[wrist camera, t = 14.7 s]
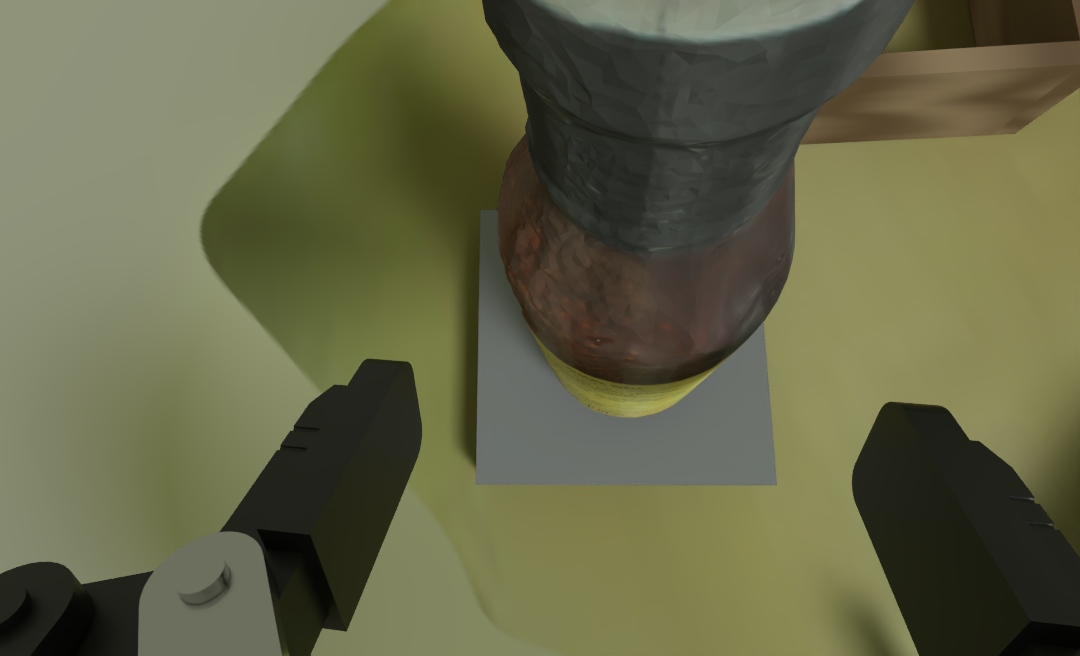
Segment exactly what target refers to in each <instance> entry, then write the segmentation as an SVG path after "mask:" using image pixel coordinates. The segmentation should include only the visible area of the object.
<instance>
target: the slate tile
mask: <svg viewBox="0 0 1080 656" xmlns="http://www.w3.org/2000/svg"><path fill="white" fill-rule="evenodd" d="M497 228H498V212H497V210H480V263H479V324H478V386H477V448H476V484H525V485H777V481H776V469H775V457H774V444H773V432H772V420H771V408H770V396H769V384H768V372H767V360H766V347H765V335H764V323H762V324H761V325H760V326H759V328H758V329H757V330H756V331H755V332H754V333H753V334H752V335H751V337H750V338H749V339H748V340H747V341H746V342H745V343H744V344H743V345H742V346H741V347H740V348H738V349H737V350H736V351H735V352H734V353H733V354H732V355H731V356H730V357H729V358H727V359H726V360H725V361H724V362H723V363H722V364H721V365H720V366H719V367H717V368H716V369H715V370H714V371H713V372H712V373H711V374H710V375H709V376H707V377H706V378H705V379H704V380H703V381H702V382H700V383H699V384H698V385H697V386H696V387H695V388H694V389H693V390H692V391H691V392H689V393H688V394H687V395H686V396H685V397H683V398H682V399H681V400H680V401H678V402H677V403H675V404H674V405H672V406H671V407H669V408H667V409H665V410H663V411H661V412H658V413H655V414H651V415H646V416H642V417H636V418H631V417H616V416H609V415H606V414H603V413H599V412H597V411H594V410H592V409H589V408H587V407H585V406H584V405H583V404H581V403H580V402H579V401H577V400H576V399H575V398H574V397H573V396H572V395H571V394H570V393H569V392H568V391H567V390H566V389H565V388H564V387H563V385H562V384H561V382H560V381H559V380H558V378H557V377H556V375H555V373H554V372H553V370H552V368H551V367H550V365H549V363H548V361H547V359H546V358H545V356H544V354H543V352H542V350H541V348H540V347H539V345H538V343H537V341H536V339H535V338H534V336H533V334H532V332H531V330H530V328H529V327H528V325H527V323H526V321H525V319H524V318H523V316H522V309H521V307H520V305H519V303H518V301H517V298H516V297H515V295H514V294H513V290H512V287H511V284H510V283H509V281H508V280H507V276H506V273H505V266H504V263H503V261H502V258H501V256H500V250H499V246H498V233H497Z"/></svg>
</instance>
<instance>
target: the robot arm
mask: <svg viewBox="0 0 1080 656" xmlns="http://www.w3.org/2000/svg"><path fill="white" fill-rule="evenodd" d="M421 439H422V423H421V417H420V411H419V404H418V398H417V392H416V386H415V380H414V374H413V369H412V366H411V364H410V363H409V362H404V361H392V360H379V359H366V360H364V361H363V362H362V364H361V365H360V367H359V368H358V370H357V371H356V373H355V374H354V376H353V378H352V379H351V381H350V382H349V384H348V385H347V386H345V385H333V386H332V387H331V388H329V389H328V390H327V391H325V392H324V393H323V394H321V395H320V396H319V397H317V398H316V399H315V400H313V401H312V402H311V403H310V404H309V405H308V407H307V408H306V409H305V411H304V412H303V414H302V415H301V416H300V418H299V419H298V421H297V422H296V424H295V425H294V430H293V431H290V432H289V434H288V435H287V437H286V438H285V439H284V441H283V442H282V444H281V448H280V450H277V451H276V453H275V454H274V455H273V457H272V458H271V460H270V461H269V462H268V464H267V465H266V467H265V468H264V470H263V471H262V473H261V474H260V475H259V477H258V478H257V480H256V482H255V483H254V484H253V485H252V487H251V488H250V490H249V492H248V493H247V494H246V496H245V497H244V498H243V500H242V501H241V503H240V504H239V506H238V507H237V509H236V510H235V511H234V513H233V514H232V516H231V517H230V519H229V520H228V521H227V523H226V524H225V526H224V527H223V528H222V529H221V531H220V532H218V533H214V534H209V535H206V536H203V537H200V538H198V539H196V540H194V541H191V542H189V543H188V544H186V545H184V546H182V547H181V548H179V549H178V550H176V551H175V552H174V553H172V554H171V555H170V556H169V557H168V558H166V559H165V560H164V561H163V562H162V563H161V564H160V565H159V566H158V567H157V568H156V570H155V571H151V572H146V573H141V574H136V575H130V576H125V577H119V578H114V579H109V580H103V581H98V582H93V583H87V584H81V583H80V582H79V581H78V580H77V578H76V577H75V576H74V575H73V573H72V572H71V571H70V570H69V569H68V568H66V567H65V566H64V565H61V564H59V563H54V562H37V563H31V564H26V565H23V566H20V567H16V568H14V569H11V570H8V571H6V572H4V573H1V574H0V656H311V652H312V650H313V648H314V645H315V643H316V641H317V638H318V637H319V634H320V632H321V630H322V628H325V629H333V630H340V631H347V629H348V626H349V624H350V622H351V619H352V617H353V614H354V612H355V609H356V607H357V605H358V602H359V600H360V597H361V595H362V592H363V590H364V587H365V585H366V582H367V580H368V578H369V575H370V573H371V570H372V568H373V566H374V563H375V561H376V558H377V556H378V553H379V551H380V548H381V546H382V543H383V541H384V539H385V536H386V534H387V531H388V528H389V526H390V524H391V521H392V519H393V516H394V514H395V511H396V509H397V507H398V504H399V502H400V499H401V497H402V494H403V492H404V490H405V487H406V485H407V482H408V480H409V477H410V475H411V472H412V470H413V468H414V465H415V463H416V460H417V457H418V454H419V451H420V446H421ZM852 490H853V496H854V500H855V503H856V505H857V508H858V510H859V513H860V515H861V517H862V520H863V522H864V525H865V527H866V529H867V532H868V534H869V537H870V539H871V541H872V544H873V546H874V549H875V551H876V553H877V556H878V558H879V561H880V563H881V565H882V568H883V570H884V573H885V575H886V577H887V580H888V582H889V584H890V587H891V589H892V592H893V594H894V596H895V599H896V601H897V604H898V606H899V608H900V611H901V613H902V616H903V618H904V620H905V623H906V625H907V628H908V630H909V632H910V635H911V637H912V640H913V642H914V644H915V647H916V649H917V652H918V654H919V656H1080V557H1079V556H1078V555H1077V553H1076V552H1075V551H1074V549H1073V548H1072V547H1071V545H1070V544H1069V543H1068V541H1067V540H1066V539H1065V537H1064V536H1063V535H1062V533H1061V532H1060V531H1059V530H1055V529H1054V527H1053V524H1054V523H1053V521H1052V520H1051V519H1050V517H1049V516H1048V515H1047V513H1046V512H1045V511H1044V509H1043V508H1042V507H1041V505H1040V504H1035V502H1034V498H1035V497H1034V496H1033V495H1032V493H1031V492H1030V491H1029V489H1028V488H1027V487H1026V485H1025V484H1024V483H1023V481H1022V480H1021V479H1020V477H1019V476H1018V475H1017V473H1016V472H1015V471H1014V469H1013V468H1012V467H1011V466H1009V465H1008V464H1007V463H1006V462H1004V461H1003V460H1002V459H1001V458H999V457H998V456H997V455H996V454H994V453H993V452H992V451H991V450H989V449H988V448H987V447H986V446H984V445H983V444H982V443H981V442H979V441H971V440H969V438H968V437H967V435H966V434H965V433H964V431H963V430H962V428H961V427H960V426H959V424H958V423H957V421H956V420H955V418H954V417H953V416H952V414H951V413H950V412H949V411H948V410H947V409H946V408H944V407H942V406H938V405H926V404H913V403H901V402H888V403H886V404H885V405H884V406H883V407H882V408H881V410H880V412H879V414H878V416H877V418H876V420H875V422H874V425H873V427H872V429H871V431H870V433H869V435H868V437H867V440H866V442H865V444H864V446H863V448H862V450H861V453H860V455H859V457H858V459H857V461H856V463H855V466H854V470H853V475H852Z"/></svg>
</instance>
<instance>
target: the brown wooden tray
mask: <svg viewBox="0 0 1080 656" xmlns="http://www.w3.org/2000/svg"><path fill="white" fill-rule="evenodd" d="M968 2H969V7H970V13H971V19H972V25H973V30H974V36H975V42H976V47H973V48H957V49H942V50H926V51H910V52H894V53H881V54H880V55H879V56H878V57H877V58H876V59H875V60H874V62H873V63H872V64H871V65H870V66H869V67H868V68H867V69H866V71H865V72H864V73H863V74H862V75H861V76H860V77H859V78H858V79H857V80H856V81H855V82H854V83H853V84H852V85H851V86H849V87H848V88H846V89H845V90H844V91H842V92H841V93H839V94H838V95H837V96H835V97H834V98H832V99H831V100H829V101H827V102H826V103H824V104H823V105H822V107H821V108H820V110H819V111H818V113H817V115H816V116H815V118H814V120H813V121H812V123H811V125H810V127H809V129H808V130H807V132H806V134H805V135H804V137H803V138H802V140H801V141H800V144H819V143H839V142H859V141H879V140H898V139H918V138H938V137H958V136H978V135H998V134H1015V133H1016V132H1018V131H1019V130H1021V129H1022V128H1023V127H1025V126H1026V125H1028V124H1029V123H1030V122H1032V121H1033V120H1035V119H1036V118H1037V117H1039V116H1040V115H1042V114H1043V113H1044V112H1046V111H1047V110H1049V109H1050V108H1051V107H1053V106H1054V105H1056V104H1057V103H1058V102H1060V101H1061V100H1063V99H1064V98H1065V97H1067V96H1068V95H1070V94H1071V93H1073V92H1074V91H1075V90H1077V89H1078V88H1080V0H968Z"/></svg>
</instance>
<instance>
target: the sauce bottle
mask: <svg viewBox="0 0 1080 656" xmlns="http://www.w3.org/2000/svg"><path fill="white" fill-rule="evenodd" d="M914 1H915V0H482V3H483V9H484V14H485V20H486V22H487V24H488V26H489V27H490V29H491V30H492V32H493V34H494V35H495V37H496V39H497V41H498V44H499V46H500V48H501V49H502V50H503V52H504V53H505V54H506V56H507V57H508V58H509V60H510V61H511V62H512V64H513V65H514V66H515V68H516V69H517V70H518V72H519V75H520V82H521V86H522V90H523V95H524V99H525V102H526V107H527V113H528V119H527V123H526V126H525V129H526V134H525V135H524V136H523V138H522V139H521V140H520V142H519V143H518V144H517V145H516V147H515V148H514V149H513V151H512V152H511V154H510V156H509V158H508V160H507V162H506V169H505V172H504V176H503V183H502V187H501V192H500V198H499V205H498V209H497V212H498V228H497V233H498V246H499V250H500V256H501V258H502V261H503V263H504V266H505V273H506V276H507V280H508V281H509V283H510V284H511V287H512V290H513V294H514V295H515V297H516V298H517V301H518V303H519V305H520V307H521V309H522V316H523V318H524V319H525V321H526V323H527V325H528V327H529V328H530V330H531V332H532V334H533V336H534V338H535V339H536V341H537V343H538V345H539V347H540V348H541V350H542V352H543V354H544V356H545V358H546V359H547V361H548V363H549V365H550V367H551V368H552V370H553V372H554V373H555V375H556V377H557V378H558V380H559V381H560V382H561V384H562V385H563V387H564V388H565V389H566V390H567V391H568V392H569V393H570V394H571V395H572V396H573V397H574V398H575V399H576V400H577V401H579V402H580V403H581V404H583V405H584V406H585V407H587V408H589V409H592V410H594V411H597V412H599V413H603V414H606V415H609V416H616V417H631V418H636V417H642V416H646V415H651V414H655V413H658V412H661V411H663V410H665V409H667V408H669V407H671V406H672V405H674V404H675V403H677V402H678V401H680V400H681V399H682V398H683V397H685V396H686V395H687V394H688V393H689V392H691V391H692V390H693V389H694V388H695V387H696V386H697V385H698V384H699V383H700V382H702V381H703V380H704V379H705V378H706V377H707V376H709V375H710V374H711V373H712V372H713V371H714V370H715V369H716V368H717V367H719V366H720V365H721V364H722V363H723V362H724V361H725V360H726V359H727V358H729V357H730V356H731V355H732V354H733V353H734V352H735V351H736V350H737V349H738V348H740V347H741V346H742V345H743V344H744V343H745V342H746V341H747V340H748V339H749V338H750V337H751V335H752V334H753V333H754V332H755V331H756V330H757V329H758V328H759V326H760V325H761V324H762V323H763V322H764V320H765V319H766V317H767V316H768V314H769V313H770V311H771V310H772V308H773V307H774V305H775V303H776V302H777V300H778V298H779V296H780V294H781V291H782V289H783V287H784V285H785V283H786V280H787V278H788V274H789V270H790V267H791V263H792V260H793V253H794V246H795V179H794V157H795V155H796V152H797V149H798V147H799V144H800V141H801V140H802V138H803V137H804V135H805V134H806V132H807V130H808V129H809V127H810V125H811V123H812V121H813V120H814V118H815V116H816V115H817V113H818V111H819V110H820V108H821V107H822V105H823V104H824V103H826V102H827V101H829V100H831V99H832V98H834V97H835V96H837V95H838V94H839V93H841V92H842V91H844V90H845V89H846V88H848V87H849V86H851V85H852V84H853V83H854V82H855V81H856V80H857V79H858V78H859V77H860V76H861V75H862V74H863V73H864V72H865V71H866V69H867V68H868V67H869V66H870V65H871V64H872V63H873V62H874V60H875V59H876V58H877V57H878V56H879V55H880V54H881V53H882V51H883V50H884V49H885V48H886V46H887V45H888V43H889V42H890V40H891V38H892V37H893V35H894V34H895V32H896V31H897V29H898V28H899V26H900V25H901V23H902V22H903V20H904V18H905V17H906V15H907V13H908V11H909V10H910V8H911V6H912V4H913V2H914Z"/></svg>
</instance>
